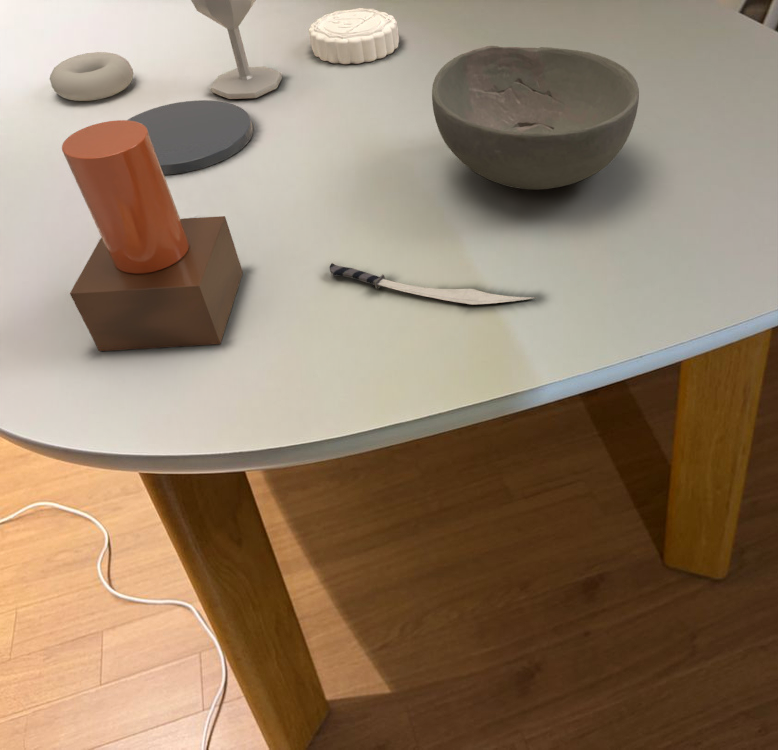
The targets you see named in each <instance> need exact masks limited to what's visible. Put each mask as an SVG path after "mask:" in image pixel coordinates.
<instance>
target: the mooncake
mask: <svg viewBox="0 0 778 750" xmlns="http://www.w3.org/2000/svg"><path fill="white" fill-rule="evenodd" d="M308 35H309V40H310V46H311V51H312V52H313V55H314V56H315V57H316V58H319V59H320V60H321V61H323V62H329V63H331V64H341V65H350V64H355V65H357V64H363V63H370V62H374V61H375V60H379V59H383V58H386V56H387V55H391V54H393V53H394V51H395V50H396V49H398V48H399V43H400V35H399V29H398V22H397V20H396V19H395V16H394V15H392V14H389V13H388V12H385V11H379V10H377V9H375V8H363V7H359V8H353V9H348V10H347V9H346V10H335V11H333V12H332V13H327V14H326V13H325V14H323V16H322V17H319V18H317V19H316V20H315V21H314V22H312V23H311V24H310V28H308Z"/></svg>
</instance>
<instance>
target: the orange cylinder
mask: <svg viewBox="0 0 778 750" xmlns="http://www.w3.org/2000/svg"><path fill="white" fill-rule="evenodd" d="M61 151H62V153H63V155H64V158H65V160H66V162H67V164H68V166H69V169H70V171H71V173H72V176H73V178H74V180H75V182H76V184H77V186H78V189H79V191H80V193H81V195H82V198H83V201H84V202H85V204H86V206H87V208H88V211H89V213H90V215H91V217H92V219H93V222H94V224H95V226H96V228H97V231H98V233H99V235H100V238H101V237H102V239H103V242H104V244H105V246H106V248H107V250H108V253H109V255H110V257H111V259H112V261H113V264H114V265H115V267H116V268H118V269H119V270H121V271H123V272H126V273H132V274H143V273H150V272H155V271H158V270H161V269H164V268H166V267H169V266H171V265H173V264H174V263H176V262H177V261H179V260H180V259H181V258H182V257H183V256H184V255H185V254H186V252H187V251H188V248H189V242H188V239H187V236H186V233H185V231H184V228H183V225H182V223H181V220H180V219H181V217H180V215H179V212H178V209H177V206H176V203H175V201H174V198H173V195H172V193H171V190H170V187H169V184H168V182H167V179H166V175H164V174H163V171H162V168H161V165H160V163H159V160H158V157H157V154H156V152H155V149H154V146H153V144H152V141H151V138H150V135H149V133H148V130H147V128H146V127H145V126H144V125H143V124H141V123H139V122H135V121H128V119H122V120H121V119H120V120H119V119H118V120H117V119H116V120H108V121H102V122H99V123H98V122H97V123H95V124H91V125H88V126H85V127H84V128H81V129H79V130H77V131H75V132H74V133H72V134H70V135H69V136H68V137H67V138H66V139H65V140H64V141H63V142H62V144H61Z"/></svg>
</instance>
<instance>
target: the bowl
mask: <svg viewBox="0 0 778 750" xmlns="http://www.w3.org/2000/svg"><path fill="white" fill-rule="evenodd" d="M639 100H640V88H639V85H638V81H637V79H636V78H635V77H634V74H632V73H631V72H630V71H629V70H628V69H627V68H626V67H624V66H623V65H622V64H619V63H618V62H616V61H615V60H612V59H609V58H608V57H605V56H603V55H599V54H596V53H592V52H588V51H582V50H576V49H568V48H560V47H559V48H558V47H547V46H540V47H522V46H498V45H487V46H482V47H480V48H475V49H472V50H469V51H467V52H464V53H461V54H459V55H457V56H455V57H454V58H452V59H451V60H449V61H447V62H446V63H445V64H444V65H443V66H442V67H441V68H440V69H439V70H438V72H437V73H436V75H435V77H434V79H433V82H432V88H431V102H432V110H433V111H432V112H433V116H434V120H435V123H436V127H437V130H438V131H439V134H440V136H441V138H442V139H443V142H444V144H446V146H447V148H448V149H449V150H450V151H451V153H452V154H453V155H454V156H455V157H456V158H457V159H458V160H459V161H460V162H461V163H462V164H463V165H465V167H467V168H468V169H470V170H471V171H472V172H474V173H476V174H477V175H479V176H481V177H482V178H485V179H487V180H490V181H491V182H494V183H496V184H500V185H503V186H506V187H509V188H510V187H511V188H515V189H522V190H548V189H556V188H560V187H566V186H569V185H573V184H576V183H578V182H581V181H583V180H585V179H588V178H590V177H592V176H593V175H596V174H597V173H599V172H600V171H602V169H605V167H607V165H608V164H610V163H611V162H612V161H613V160H614V159H615V158H616V156H618V154H619V153H620V152H621V150H622V149H623V147H624V146H625V144H626V143H627V140H628V138H629V136H630V134H631V132H632V130H633V127H634V124H635V120H636V116H637V113H638V108H639Z"/></svg>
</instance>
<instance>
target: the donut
mask: <svg viewBox="0 0 778 750" xmlns="http://www.w3.org/2000/svg"><path fill="white" fill-rule="evenodd" d="M133 78H134V70H133V67H132V66H131V64H130V62H129V60H127V59H126V57H124V56H121V55H120V54H117V53H113V52H108V51H107V52H106V51H94V52H86V53H83V54H78V55H75V56H72V57H68V58H67V59H65V60H62V61H61V62H59V63H57V65H55V67H53V69H52V71H51V73H50V74H49V81H50V85H51V87H52V89H53V91H54V92H55V93H56V94H57V95H59V96H60V97H62V98H64V99H65V100H69V101H74V102H91V101H99V100H102V99H107V98H109V97H113V96H115V95H117V94H119V93H121V92H122V91H124V90H126V89H127V88H128V87H129V86H130V84H131V83H132V81H133Z"/></svg>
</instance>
